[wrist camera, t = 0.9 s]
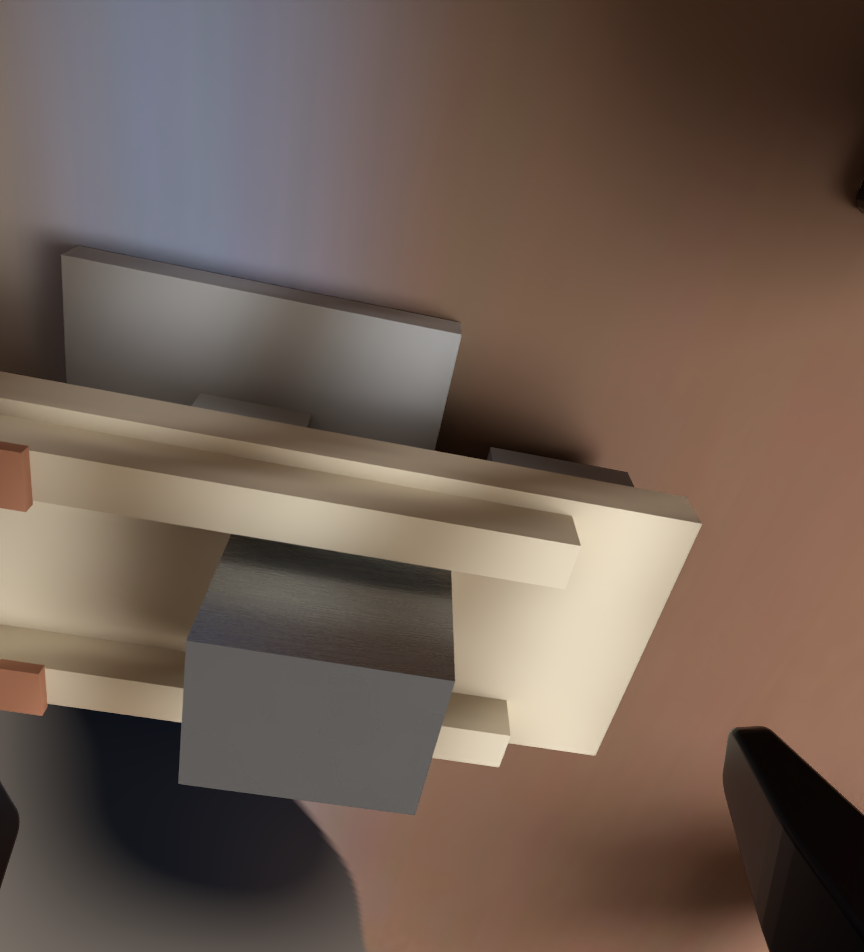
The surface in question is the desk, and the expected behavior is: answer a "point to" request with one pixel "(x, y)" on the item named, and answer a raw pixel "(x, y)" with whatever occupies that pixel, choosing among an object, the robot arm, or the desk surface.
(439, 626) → the block
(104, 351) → the balance beam
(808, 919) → the robot arm
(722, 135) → the desk surface
